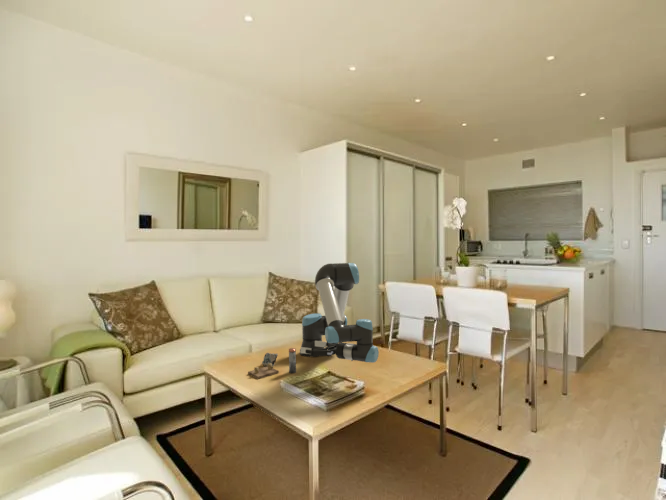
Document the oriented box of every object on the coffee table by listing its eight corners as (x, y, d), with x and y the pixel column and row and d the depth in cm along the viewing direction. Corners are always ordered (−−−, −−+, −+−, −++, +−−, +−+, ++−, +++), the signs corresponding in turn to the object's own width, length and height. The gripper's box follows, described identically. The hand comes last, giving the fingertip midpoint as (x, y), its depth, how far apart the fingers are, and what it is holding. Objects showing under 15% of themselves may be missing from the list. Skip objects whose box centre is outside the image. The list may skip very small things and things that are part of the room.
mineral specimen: (265, 374, 206) (282, 369, 206) (260, 368, 200) (278, 362, 200) (263, 358, 213) (280, 353, 213) (258, 352, 207) (276, 346, 207)
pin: (293, 370, 197) (292, 347, 197) (297, 372, 195) (297, 349, 194) (287, 372, 195) (287, 349, 194) (291, 373, 192) (291, 350, 192)
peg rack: (268, 368, 201) (267, 361, 201) (278, 373, 194) (278, 365, 193) (248, 374, 193) (247, 366, 193) (258, 379, 185) (258, 371, 185)
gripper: (334, 366, 168) (294, 360, 178) (357, 352, 191) (320, 347, 200) (334, 349, 168) (294, 345, 178) (356, 337, 191) (320, 333, 200)
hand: (308, 346), depth 189 cm, fingers open, 13 cm apart
